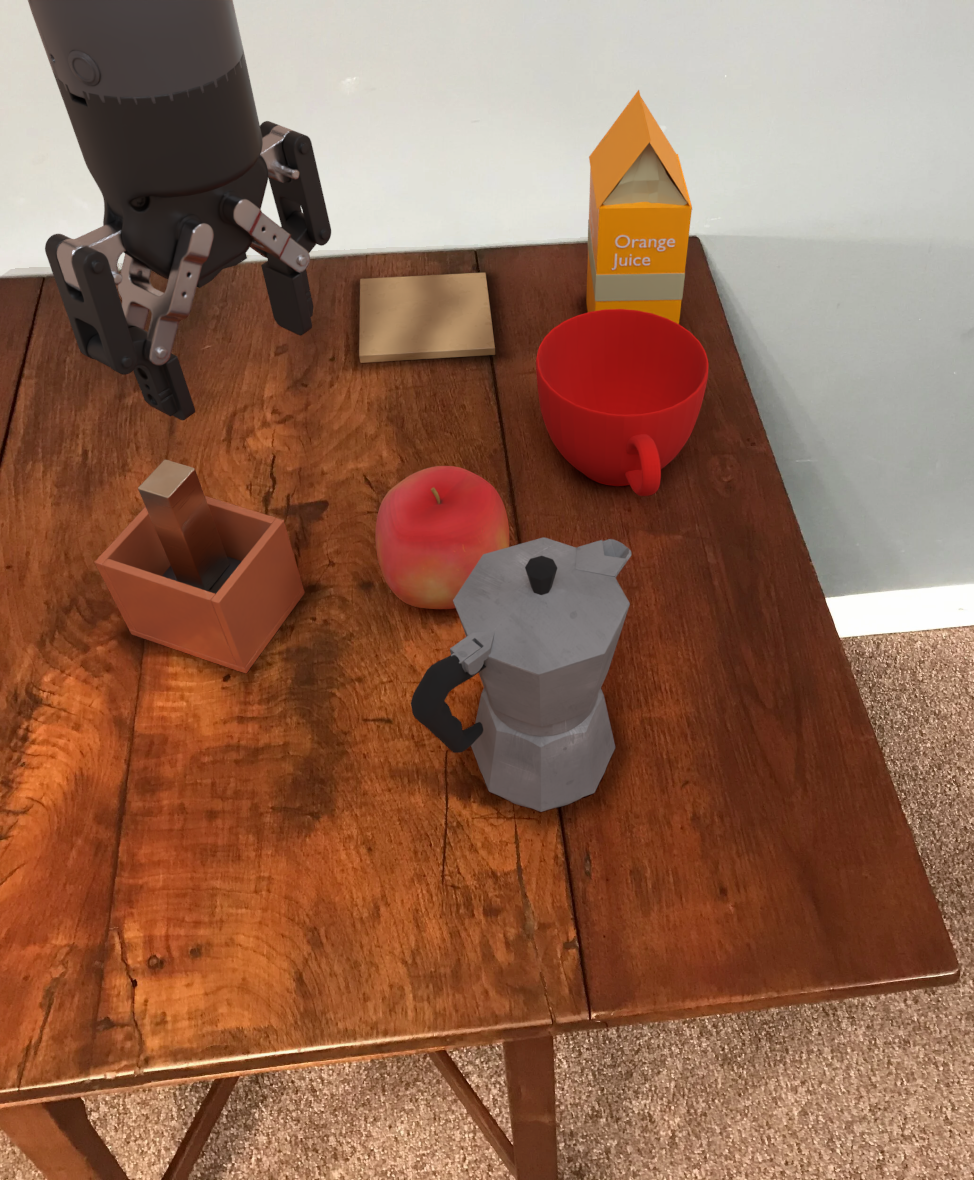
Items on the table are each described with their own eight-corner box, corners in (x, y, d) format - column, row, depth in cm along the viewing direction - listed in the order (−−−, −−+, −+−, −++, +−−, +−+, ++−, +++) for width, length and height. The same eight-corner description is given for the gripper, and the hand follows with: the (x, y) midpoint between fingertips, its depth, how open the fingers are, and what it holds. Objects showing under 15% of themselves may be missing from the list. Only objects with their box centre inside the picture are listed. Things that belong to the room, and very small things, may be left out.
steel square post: (169, 618, 71) (109, 487, 62) (202, 577, 74) (149, 446, 64) (233, 639, 70) (183, 510, 61) (265, 598, 73) (221, 467, 63)
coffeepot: (565, 649, 71) (569, 458, 57) (665, 733, 67) (695, 548, 53) (388, 787, 64) (344, 605, 50) (489, 889, 60) (470, 722, 46)
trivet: (360, 363, 91) (359, 355, 90) (361, 285, 99) (360, 278, 98) (495, 355, 92) (495, 347, 92) (485, 279, 100) (485, 272, 99)
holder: (130, 634, 71) (93, 561, 65) (195, 557, 76) (166, 483, 70) (246, 674, 69) (218, 602, 63) (305, 592, 74) (284, 519, 68)
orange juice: (665, 299, 99) (685, 88, 83) (676, 356, 93) (701, 140, 78) (584, 301, 98) (590, 88, 83) (591, 358, 92) (598, 141, 77)
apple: (535, 563, 76) (534, 464, 69) (479, 658, 71) (470, 562, 63) (420, 526, 78) (406, 426, 71) (357, 615, 73) (334, 516, 65)
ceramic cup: (560, 562, 77) (561, 463, 69) (525, 415, 87) (523, 315, 79) (727, 540, 78) (746, 442, 71) (673, 399, 89) (684, 301, 81)
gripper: (210, -27, 47) (280, 282, 59) (-68, 85, 39) (80, 414, 51) (334, 14, 45) (380, 327, 57) (65, 142, 37) (186, 473, 49)
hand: (237, 368), depth 54 cm, fingers open, 8 cm apart
